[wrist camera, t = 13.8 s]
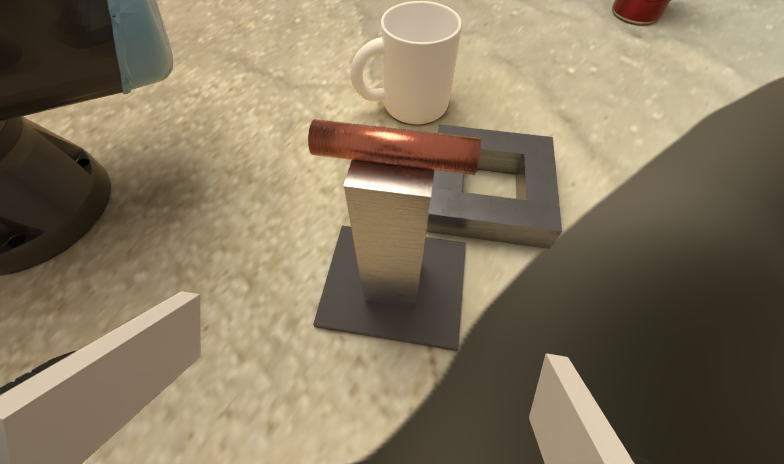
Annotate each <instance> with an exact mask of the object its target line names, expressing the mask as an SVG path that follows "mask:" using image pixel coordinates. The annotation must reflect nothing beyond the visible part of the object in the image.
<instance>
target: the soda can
mask: <svg viewBox="0 0 784 464" xmlns="http://www.w3.org/2000/svg"><path fill="white" fill-rule="evenodd" d="M670 1H671V0H615V1H614V3H613V11H614V14H615V15H616V16H617V17H618V18H620V19H621V20H623V21H626V22H628V23H632V24H639V25H645V24H650V23H653V22H655V21H657V20H658V19H660V18H661V16H662V15H663V13H664V11H665V10H666V8H667V6H668V5H669V3H670Z"/></svg>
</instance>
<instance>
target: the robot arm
mask: <svg viewBox="0 0 784 464" xmlns="http://www.w3.org/2000/svg"><path fill="white" fill-rule="evenodd" d="M172 69H173V55H172V51H171V47H170V43H169V40H168V36H167V33H166V30H165V27H164V23H163V20H162V17H161V14H160V11H159V8H158V5H157V2H156V0H0V275H2V274H7V273H12V272H16V271H20V270H23V269H26V268H29V267H31V266H34V265H36V264H39V263H41V262H43V261H45V260H47V259H49V258H51V257H53V256H55V255H56V254H58V253H60V252H61V251H63V250H64V249H66V248H67V247H69V246H70V245H71V244H73V243H74V242H75V241H76V240H78V239H79V238H80V237H81V236H82V235H83V234H84V233H86V232H87V230H88V229H89V228H90V227H91V226H92V225H93V224H94V223H95V221H96V220H97V219H98V217H99V216H100V215H101V213H102V211H103V210H104V208H105V206H106V203H107V201H108V198H109V193H110V180H109V176H108V174H107V172H106V170H105V169H104V168H103V167H102V166H101V165H100V164H99V163H98V162H97V161H96V160H95V159H94V158H93V157H92V156H91V155H90V154H89V153H88V152H87V151H85V150H84V149H82V148H81V147H79V146H77V145H75V144H73V143H72V142H70V141H68V140H66V139H64V138H62V137H60V136H58V135H56V134H55V133H53V132H51V131H49V130H47V129H45V128H43V127H41V126H40V125H38V124H36V123H34V122H32V121H30V120H28V119H26V118H25V117H24V116H26V115H30V114H34V113H38V112H42V111H46V110H51V109H55V108H59V107H63V106H67V105H72V104H76V103H80V102H84V101H88V100H93V99H97V98H101V97H105V96H109V95H113V94H118V93H122V92H123V93H124V94H128V93H130V92H131V90H132V89H136V88H139V87H142V86H146V85H149V84H153V83H156V82H160V81H162V80H164V79H166V78H167V77H168V76H169V75H170V73H171V71H172ZM198 358H200V294H196V293H190V292H184V291H181V292H179V293H177V294H175V295H174V296H172V297H170V298H168V299H167V300H165V301H163V302H162V303H160V304H158V305H156V306H155V307H153V308H151V309H149V310H148V311H146V312H144V313H142V314H141V315H139V316H137V317H135V318H134V319H132V320H130V321H129V322H127V323H125V324H123V325H122V326H120V327H118V328H116V329H115V330H113V331H111V332H109V333H108V334H106V335H104V336H102V337H101V338H99V339H97V340H96V341H94V342H92V343H90V344H89V345H87V346H85V347H83V348H82V349H80V350H78V351H73V352H70V353H67V354H64V355H62V356H59V357H56V358H53V359H51V360H49V361H47V362H46V363H44V364H42V365H40V366H39V367H37V368H35V369H33V370H32V372H31V373H26V374H24V375H22V376H21V377H19V378H17V379H15V381H14V382H10V383H8V384H6V385H5V386H3V387H1V388H0V464H82V463H83V462H84V461H85V460H86V459H88V458H89V457H90V456H91V455H92V454H93V453H94V452H95V451H96V450H98V449H99V448H100V447H101V446H102V445H103V444H104V443H105V442H106V441H108V440H109V439H110V438H111V437H112V436H113V435H114V434H115V433H116V432H118V431H119V430H120V429H121V428H122V427H123V426H124V425H125V424H126V423H127V422H129V421H130V420H131V419H132V418H133V417H134V416H135V415H136V414H137V413H139V412H140V411H141V410H142V409H143V408H144V407H145V406H146V405H147V404H149V403H150V402H151V401H152V400H153V399H154V398H155V397H156V396H157V395H159V394H160V393H161V392H162V391H163V390H164V389H165V388H166V387H167V386H168V385H170V384H171V383H172V382H173V381H174V380H175V379H176V378H177V377H178V376H180V375H181V374H182V373H183V372H184V371H185V370H186V369H187V368H188V367H190V366H191V365H192V364H193V363H194V362H195V361H196V360H197V359H198ZM529 419H530V422H531V425H532V428H533V431H534V433H535V436H536V439H537V442H538V445H539V448H540V451H541V453H542V456H543V459H544V462H545V464H651V463H650V462H649V461H648V460H647V459H646V458H642V457H637V456H632V455H629V454H628V453H627V451H626V449H625V448H624V446H623V445H622V443H621V441H620V440H619V438H618V437H617V435H616V434H615V432H614V430H613V429H612V427H611V426H610V424H609V422H608V421H607V419H606V418H605V416H604V414H603V413H602V411H601V410H600V408H599V407H598V405H597V403H596V402H595V400H594V398H593V397H592V396H591V394H590V392H589V390H588V389H587V387H586V386H585V384H584V382H583V381H582V379H581V378H580V376H579V374H578V373H577V371H576V370H575V368H574V367H573V365H572V363H571V362H570V360H569V359H568V357H563V356H557V355H551V354H546V355H545V360H544V363H543V367H542V371H541V374H540V378H539V382H538V386H537V390H536V394H535V397H534V401H533V405H532V409H531V413H530V417H529Z"/></svg>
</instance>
